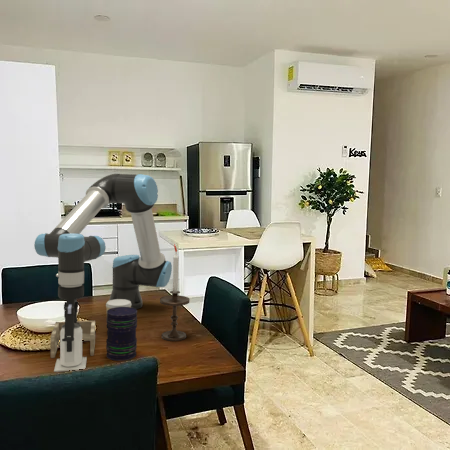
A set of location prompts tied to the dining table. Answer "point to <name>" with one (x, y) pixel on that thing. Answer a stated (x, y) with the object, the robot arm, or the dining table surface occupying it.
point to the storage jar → (121, 333)
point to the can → (77, 346)
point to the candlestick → (174, 304)
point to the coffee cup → (117, 303)
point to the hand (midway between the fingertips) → (71, 353)
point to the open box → (87, 335)
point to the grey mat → (61, 368)
